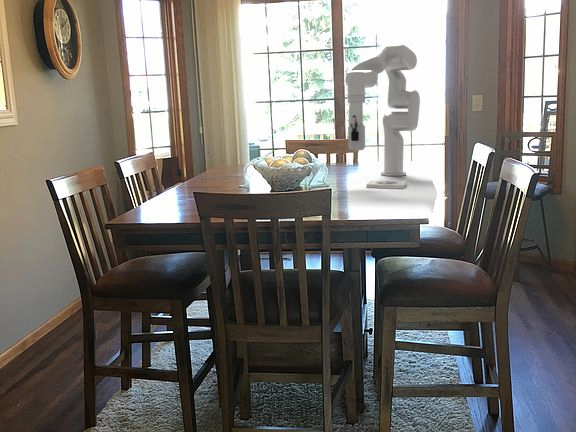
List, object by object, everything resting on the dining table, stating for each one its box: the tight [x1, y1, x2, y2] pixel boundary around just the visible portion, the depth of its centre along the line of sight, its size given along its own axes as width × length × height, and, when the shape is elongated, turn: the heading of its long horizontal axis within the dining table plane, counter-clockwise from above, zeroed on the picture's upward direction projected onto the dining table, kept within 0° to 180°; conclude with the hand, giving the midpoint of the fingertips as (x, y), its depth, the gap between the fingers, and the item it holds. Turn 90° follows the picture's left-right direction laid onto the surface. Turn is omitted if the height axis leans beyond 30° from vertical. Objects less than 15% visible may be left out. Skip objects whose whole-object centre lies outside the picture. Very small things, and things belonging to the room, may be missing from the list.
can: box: [347, 122, 366, 151], centre depth 273 cm, size 8×8×12 cm
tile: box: [365, 180, 407, 189], centre depth 272 cm, size 13×16×2 cm
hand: (356, 139), depth 273 cm, fingers closed on can, 7 cm apart
